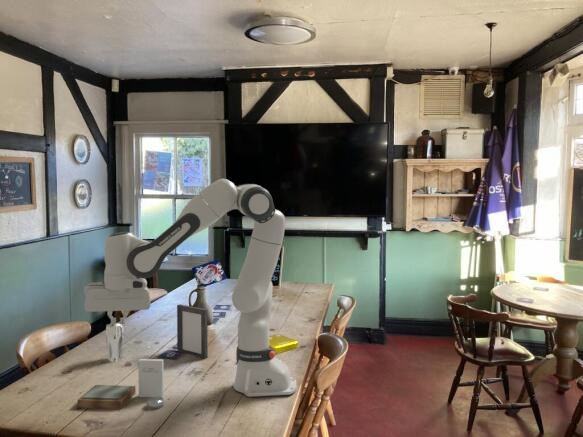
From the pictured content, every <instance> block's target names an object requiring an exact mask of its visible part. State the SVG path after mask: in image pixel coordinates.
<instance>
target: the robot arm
mask: <svg viewBox="0 0 583 437" xmlns="http://www.w3.org/2000/svg"><path fill="white" fill-rule="evenodd" d="M232 210H238V211H239V212H240V213H241V214H243V215H244V216H246V217H248V218H249V219H252V220H253V229H252V233H251V236H250V240H249V244H248V249H247V253H246V256H245V260H244V262H243V264H242V267H241V270H240V273H239V275H238V277H237V281H236V285H235V287H234V289H233V292H232V295H231V302H232V304H233V307H234V308H235V309H236V310H237V311H239V312H240V314H239V320H238V324H237V347H236V351H235V352H236V353H235V355H236V356H235V357H236V359H235V360H236V364H237V365H236V371H235V377H234V383H233V385H232V388H233V389H234V390H235V391H237V392H239V393H242V394H244V395H245V396H246V397H249V398H251V397H266V396H267V397H270V396H283V395H284V396H286V395H287V396H288V395H291V394H294V393H295V392H296V390H297V388H298V385H297V380H296V379H295V377H292V376H291V373H290V368H289V367H288V365H287V364H286V363H284V362H283V361H281V360H280V359H279V358H277V357H276V354H275V349H274V346H273V348H272V347H271V346H269V336H270V319H271V313H272V305H273V304H272V302H273V291H274V290H273V289H274V286H273V282H272V278H273V276H274V273H275V271H276V267H277V264H278V263H279V262H278V261H279V258H280V253H281V249H282V245H283V241H284V237H285V230H286V229H285V228H286V217H285V215H284V213H283V212H281V211H280V210H278V209H276V208H275V205H274V201H273V197H272V194H270V192H269V190H267V189H266V188H264V187H262V186H261V185H258V184H255V183H242V184H238V185H235V183H234V182H232V181H230V180H229V179H226V178H220V179H218V180H215V181H214V182H211V183H210V184H209V185H207V186H206V187H205V188H203V189H202V190H200V191H199V192H198V193H196V194H195V195H194V196H193V197H192V198H191V199H190V200H189V202H187V203H186V205H185V206H184V207H183V208H182V210H181V212H180V213H179V216H178V217H177V218H176V220H174V222H173V223H172V225H170V226H169V227H168V228H167V229H166V230H165V231H163V232H162V233H161V234H160V235H158V237H156V238H154V240H152V241H148V240H145V239H142V238H140V237H138V236H136V235H135V234H134V233H132V232H131V231H121V232H115V233H112V234H110V235H109V236H108V237H107V238H106V241H105V246H104V263H105V268H104V272H103V273H104V276H103V277H104V280H103V281H98V282H94V281H92V282H89V283H86V284H85V285H84V287H83V295H84V296H85V300H84V311H86V312H87V313H90V312H91V313H93V312H96V313H97V312H107V316H108V318H109V319H110V324H111V325H113V324H116V323H117V317H114V316H113V315H112V314H113V312H120V311H121V312H123V314H124V315H123V317H120V318H119V320H120V321H119V323H120V324H123V325H125V323H126V318H127V317H128V315H129V313H130V311H147V310H149V309H150V308H151V295H150V289H149V287H148V286H147V285H148V281H147V279H149V278H152V277H153V276H155V275H156V274H157V273H158V271H159V270H160V268H161V266H162V264H163V261H164V260H165V259H166V257H168V256H169V255H170V254H171V253H173V252H174V251H175V250H176V249H177V248H178V247H179V246H180V245H181V244H183V243H184V242H185V241H186V240H188V239H189V238H191V237H192V236H195V235H196V234H198V233H200V232H201V231H204V230H205V229H208V228H209V227H210V226H212V225H213V224H215V223H217V221H219V220H220V219H221V218H222V217H223V216H224V215H226V213H228V212H230V211H232Z"/></svg>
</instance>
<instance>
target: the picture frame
mask: <svg viewBox="0 0 583 437" xmlns="http://www.w3.org/2000/svg"><path fill="white" fill-rule="evenodd" d="M176 324H177V325H176V326H177V327H176V330H177V331H176V333H177V334H176V335H177V337H176V338H177V341H176V343H177V344H176V345H177V350H176V351H177V352H182V353H184V354H187V355H191V356H195V357H197V358H201V359H204V360H206V359H208V356H209V355H208V351H209V350H208V347H209V346H208V309H207V308H202V307H196V306H190V305H187V304H180V303H179V304H177V305H176Z"/></svg>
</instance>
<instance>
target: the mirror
mask: <svg viewBox="0 0 583 437" xmlns="http://www.w3.org/2000/svg"><path fill="white" fill-rule="evenodd" d="M135 395H136V385H134V386H133V385H111V384H110V385H109V384H106V385H105V384H95V385H94V386H92V387H90V389H89V390H87V391H86V393H84V394H83V395H82V396H80V398H78V399H77V408H78V409H106V410H107V409H109V410H122V409H123V408H124V406H126V404H127V403H128V402H129V401H130V400H131V399H132V398H133V397H134V396H135Z"/></svg>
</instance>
